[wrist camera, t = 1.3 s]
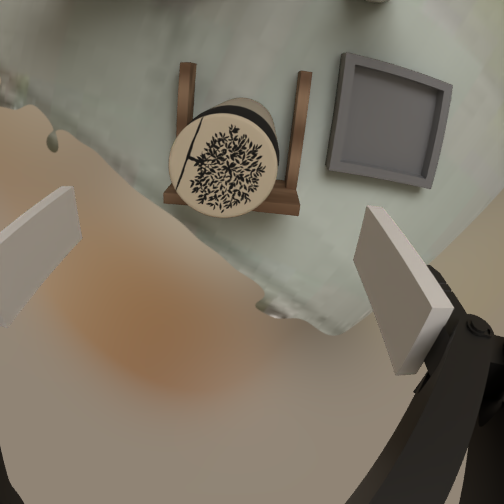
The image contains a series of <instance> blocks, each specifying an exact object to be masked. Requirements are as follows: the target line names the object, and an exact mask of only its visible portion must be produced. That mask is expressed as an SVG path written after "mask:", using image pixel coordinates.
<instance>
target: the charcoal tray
mask: <svg viewBox="0 0 504 504" xmlns="http://www.w3.org/2000/svg"><path fill="white" fill-rule="evenodd" d="M452 88H453V85H451V84H448V83H446V82H443V81H441V80H438V79H435V78H433V77H430V76H427V75H424V74H422V73H419V72H416V71H413V70H410V69H407V68H403V67H400V66H397V65H394V64H390V63H387V62H383V61H380V60H376V59H372V58H368V57H364V56H360V55H356V54H352V53H347V52H346V53H343V54H341V61H340V69H339V77H338V85H337V92H336V99H335V106H334V113H333V120H332V127H331V133H330V139H329V146H328V152H327V158H326V164H325V165H326V167H327V168H328V170H331V171H338V172H344V173H350V174H356V175H362V176H368V177H373V178H379V179H384V180H389V181H394V182H399V183H404V184H409V185H414V186H418V187H423V188H427V189H431V187H432V184H433V180H434V176H435V172H436V168H437V164H438V160H439V156H440V152H441V147H442V143H443V138H444V134H445V129H446V124H447V118H448V113H449V107H450V101H451V95H452Z"/></svg>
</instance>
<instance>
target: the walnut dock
mask: <svg viewBox="0 0 504 504" xmlns="http://www.w3.org/2000/svg"><path fill="white" fill-rule="evenodd" d="M195 77H196V64H195V63H191V62H180V73H179V89H178V107H177V131H176V138H177V136H178V135H179V134H180V132H181V131H182V130H183V129H184V128H185V127H186V126H187V125H188V124H189V123H190V122H191V121H192V120H193V106H194V91H195ZM311 79H312V72H307V71H299V72H298V81H297V89H296V97H295V105H294V113H293V121H292V129H291V137H290V145H289V152H288V160H287V167H286V175H285V181H283V180H276V181H275V184H274V186H273V189H272V190H271V192H270V194H269V195H268V197H267V198H266V199H265V200H264V201H263V202H262V203H261V204H260V205H259V206H258V207H257V208H255V209H253V210H252V211H256V212H266V213H275V214H285V215H294V216H299V210H300V203H299V199H298V195H297V191H296V187H297V181H298V174H299V167H300V160H301V154H302V147H303V140H304V132H305V125H306V118H307V110H308V102H309V95H310V87H311ZM163 196H164V203H166V204H179V205H188V204H186V203H185V202H184V201H183V200H182V199H181V197H180V196H179V195H178V193H177V192H176V190H175V188H174V186H173V184H172V183H171V185H170V186H169V187H168V188H167V189H166V190H165V192H164V193H163Z"/></svg>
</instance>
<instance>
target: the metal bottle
mask: <svg viewBox="0 0 504 504" xmlns="http://www.w3.org/2000/svg"><path fill="white" fill-rule="evenodd" d="M366 1H369V2H375V3H378V2H385V1H389V0H366Z"/></svg>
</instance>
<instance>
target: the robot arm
mask: <svg viewBox="0 0 504 504" xmlns="http://www.w3.org/2000/svg"><path fill="white" fill-rule="evenodd" d="M81 239H82V234H81V229H80V224H79V218H78V212H77V206H76V199H75V192H74V186H61V187H59V188H58V189H56V190H55V191H54V192H52V193H51V194H49V195H48V196H47V197H45V198H44V199H42V200H41V201H40V202H38V203H37V204H35V205H34V206H33V207H32V208H30V209H29V210H27V211H26V212H25V213H24V214H22V215H21V216H20V217H18V218H17V219H16V220H15V221H13V222H12V223H11V224H10V225H8V226H7V227H6V228H5V229H4V230H2V231H1V232H0V326H2V327H6V328H8V327H9V326H10V324H11V323H12V322H13V320H14V319H15V318H16V316H17V315H18V314H19V312H20V311H21V310H22V308H23V307H24V306H25V305H26V303H27V302H28V301H29V299H30V298H31V297H32V296H33V294H34V293H35V292H36V291H37V290H38V288H39V287H40V286H41V285H42V283H43V282H44V281H45V280H46V279H47V277H48V276H49V275H50V274H51V273H52V272H53V270H54V269H55V268H56V267H57V266H58V265H59V263H60V262H61V261H62V260H63V259H64V258H65V257H66V256H67V254H68V253H69V252H70V251H71V250H72V249H73V248H74V247H75V246H76V245H77V243H78V242H79V241H80V240H81ZM353 261H354V263H355V266H356V268H357V271H358V273H359V276H360V278H361V281H362V283H363V286H364V288H365V291H366V293H367V296H368V298H369V301H370V304H371V306H372V309H373V312H374V314H375V317H376V320H377V323H378V325H379V328H380V331H381V333H382V336H383V339H384V342H385V345H386V348H387V351H388V354H389V357H390V360H391V363H392V366H393V369H394V372H395V375H411V374H416V373H417V372H418V370H419V368H420V367H421V365H422V364H423V362H425V365H426V367H427V370H428V371H427V373H426V374H425V376H424V377H423V379H422V380H421V382H420V383H419V384H418V386H417V387H416V389H415V390H414V391H413V392H414V393H415V395H414V397H413V399H412V401H411V403H410V405H409V407H408V409H407V411H406V412H405V414H404V416H403V418H402V419H401V421H400V423H399V425H398V426H397V428H396V430H395V432H394V433H393V435H392V437H391V438H390V440H389V441H388V443H387V445H386V446H385V448H384V449H383V451H382V453H381V454H380V456H379V457H378V459H377V460H376V462H375V463H374V465H373V466H372V468H371V469H370V471H369V472H368V474H367V475H366V477H365V478H364V479H363V481H362V482H361V483H360V485H359V486H358V488H357V489H356V490H355V491H354V493H353V494H352V495H351V497H350V498H349V499H348V501H347V502H346V503H345V504H444V503H445V501H446V499H447V497H448V494H449V492H450V490H451V488H452V486H453V483H454V481H455V479H456V476H457V474H458V471H459V469H460V466H461V464H462V461H463V459H464V456H465V453H466V451H467V448H468V453H467V462H466V468H465V475H464V482H463V487H462V492H461V497H460V502H459V504H504V337H500V336H496V335H494V332H493V330H492V328H491V327H490V325H489V324H488V323H487V322H486V321H485V320H483V319H482V318H480V317H478V316H475V315H472V314H467V313H466V312H465V310H464V308H463V307H462V305H461V304H460V302H459V301H458V299H457V297H456V296H455V294H454V293H453V292H451V288H450V287H449V286H448V284H446V281H445V280H444V278H443V277H442V276H441V274H440V273H439V272H438V271H437V270H435V269H434V268H433V267H432V266H430V265H426V264H425V263H424V261H423V260H422V259H421V257H420V256H419V254H418V253H417V251H416V250H415V249H414V247H413V246H412V245H411V243H410V242H409V241H408V239H407V238H406V236H405V235H404V234H403V232H402V231H401V230H400V229H399V227H398V226H397V225H396V223H395V222H394V221H393V219H392V218H391V217H390V216H389V214H388V213H387V212H386V211H385V209H384V208H383V207H377V206H370V205H367V206H366V211H365V215H364V219H363V224H362V228H361V232H360V236H359V240H358V244H357V248H356V252H355V255H354V259H353ZM0 504H24V502H23V501H22V499H21V498H20V496H19V495H18V494H17V492H16V491H15V489H14V488H13V487H12V485H11V483H10V482H9V479H8V476H7V472H6V469H5V465H4V461H3V457H2V452H1V448H0Z"/></svg>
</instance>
